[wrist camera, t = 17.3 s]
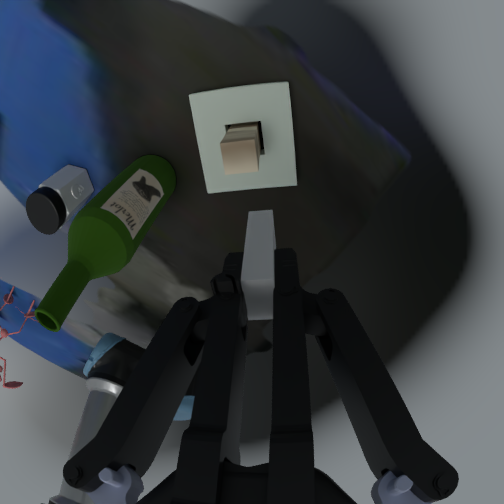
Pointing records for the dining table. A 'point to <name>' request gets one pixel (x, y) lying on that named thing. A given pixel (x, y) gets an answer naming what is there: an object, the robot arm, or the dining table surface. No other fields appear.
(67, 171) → the jar
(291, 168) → the plinth
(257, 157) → the peg
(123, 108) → the dining table surface
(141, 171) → the wine bottle
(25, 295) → the dining table surface
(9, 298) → the figurine
